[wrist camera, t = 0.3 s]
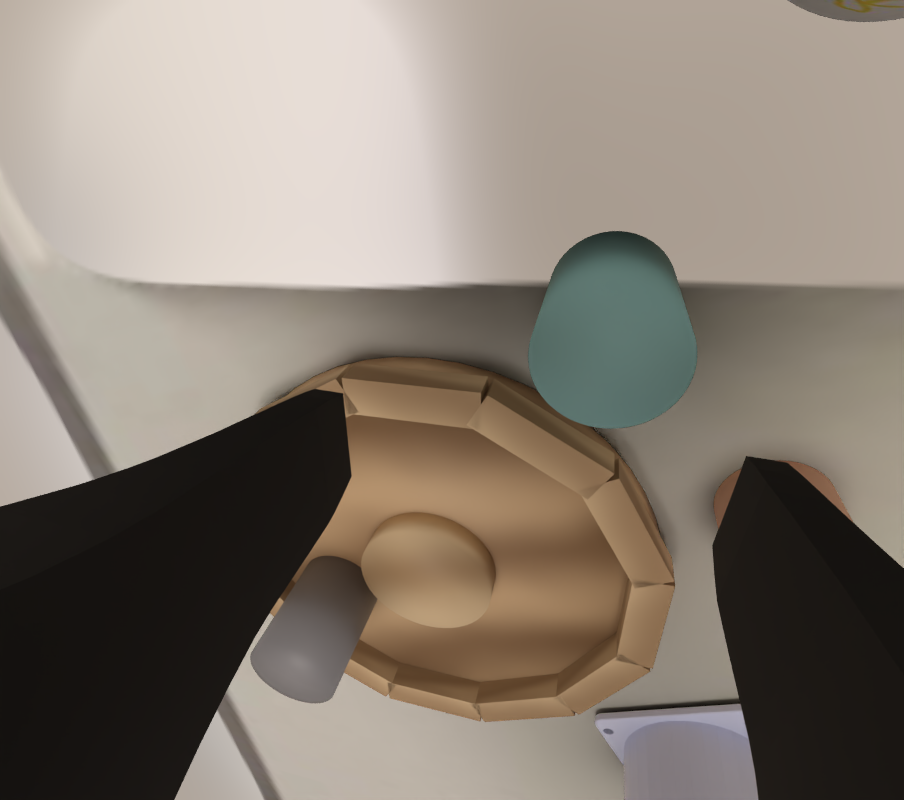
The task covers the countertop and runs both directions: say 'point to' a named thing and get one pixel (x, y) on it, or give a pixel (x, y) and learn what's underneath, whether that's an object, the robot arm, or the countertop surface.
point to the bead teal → (613, 334)
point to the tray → (490, 544)
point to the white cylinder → (855, 9)
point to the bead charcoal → (315, 631)
